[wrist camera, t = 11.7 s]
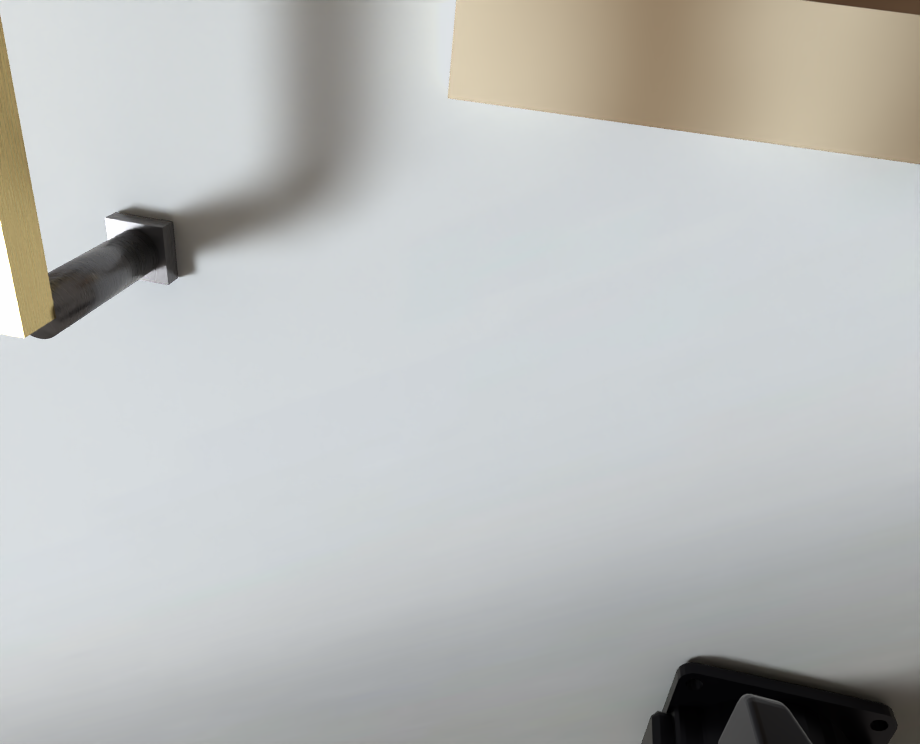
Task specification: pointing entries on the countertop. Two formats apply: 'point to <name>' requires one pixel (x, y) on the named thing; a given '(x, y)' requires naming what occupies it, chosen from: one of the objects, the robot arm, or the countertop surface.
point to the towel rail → (80, 280)
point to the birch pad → (702, 68)
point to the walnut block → (880, 5)
